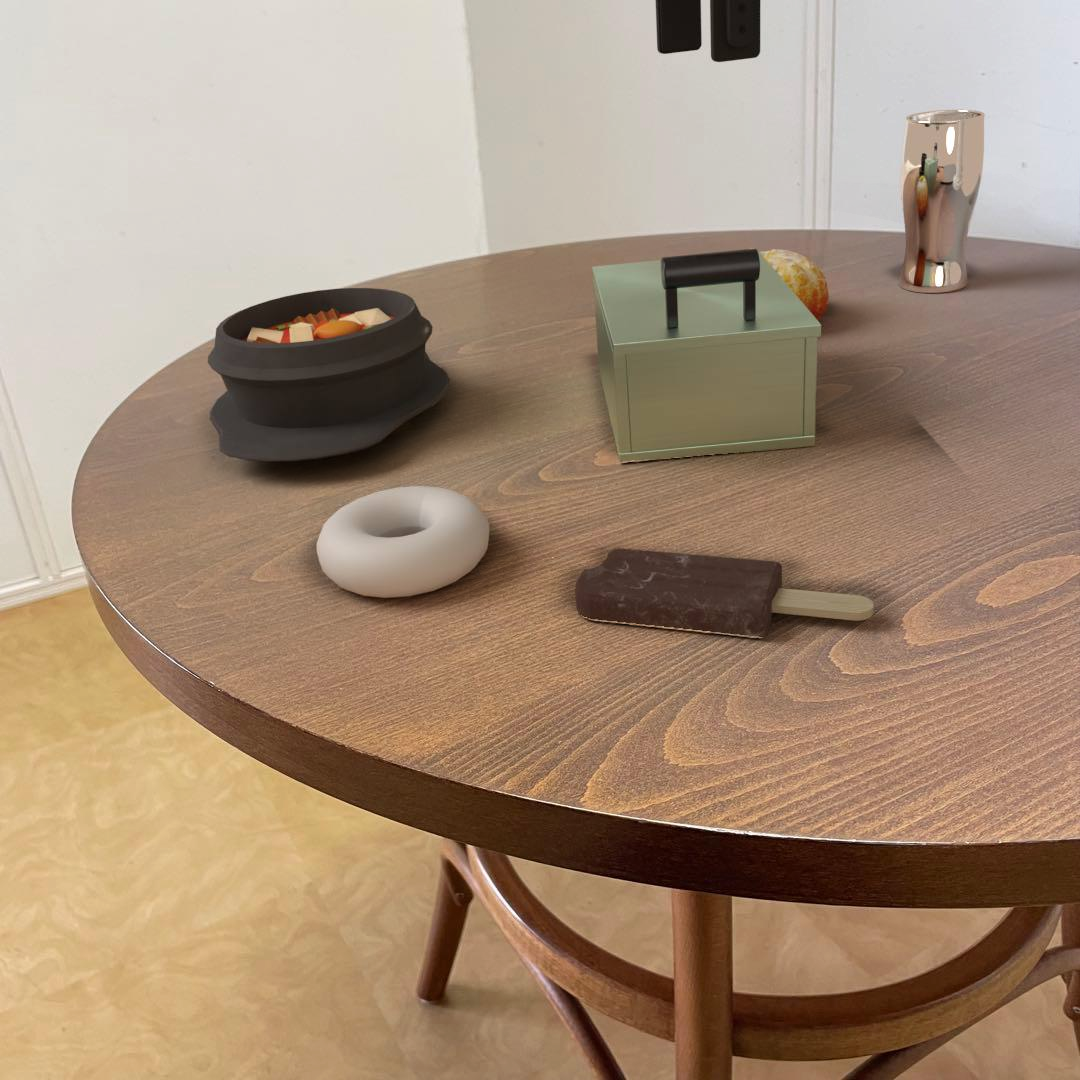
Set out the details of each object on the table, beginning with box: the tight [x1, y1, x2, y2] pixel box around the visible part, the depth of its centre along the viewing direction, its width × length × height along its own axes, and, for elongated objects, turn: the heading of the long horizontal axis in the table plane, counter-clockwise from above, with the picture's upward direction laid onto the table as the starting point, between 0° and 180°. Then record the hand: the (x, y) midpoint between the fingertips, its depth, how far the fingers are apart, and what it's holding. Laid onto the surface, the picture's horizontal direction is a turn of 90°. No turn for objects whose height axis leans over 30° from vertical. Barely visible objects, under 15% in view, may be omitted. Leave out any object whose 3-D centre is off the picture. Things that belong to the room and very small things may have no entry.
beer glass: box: [898, 109, 986, 294], centre depth 102 cm, size 7×7×15 cm
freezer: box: [592, 278, 819, 463], centre depth 82 cm, size 19×13×8 cm
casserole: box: [207, 287, 451, 463], centre depth 86 cm, size 25×19×8 cm
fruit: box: [749, 247, 830, 322], centre depth 99 cm, size 11×10×8 cm
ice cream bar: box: [574, 547, 874, 638], centre depth 58 cm, size 5×2×15 cm
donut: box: [316, 485, 490, 599], centre depth 65 cm, size 10×4×10 cm
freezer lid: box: [591, 247, 822, 356], centre depth 79 cm, size 20×13×5 cm, turn 1°
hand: (706, 55), depth 77 cm, fingers open, 9 cm apart
